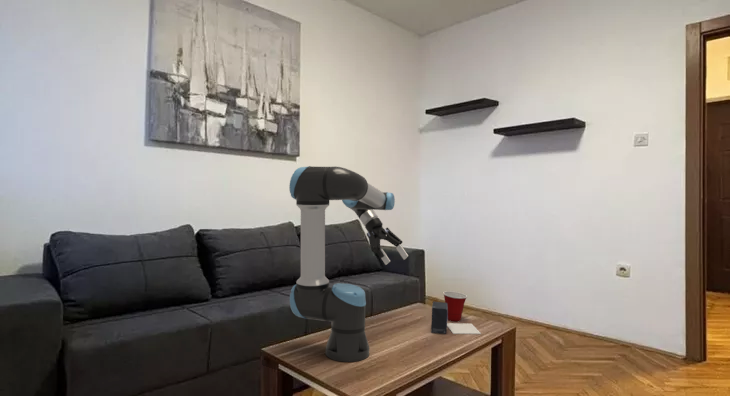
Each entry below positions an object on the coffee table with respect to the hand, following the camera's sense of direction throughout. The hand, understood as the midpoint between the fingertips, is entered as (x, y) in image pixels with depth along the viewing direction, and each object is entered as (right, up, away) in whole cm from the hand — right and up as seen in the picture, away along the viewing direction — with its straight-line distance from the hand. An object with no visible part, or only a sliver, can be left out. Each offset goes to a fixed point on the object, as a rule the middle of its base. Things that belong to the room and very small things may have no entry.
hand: (397, 260), depth 180 cm
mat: (+27, -28, -5) cm, 39 cm away
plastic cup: (+26, -28, +7) cm, 39 cm away
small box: (+17, -28, -7) cm, 33 cm away
